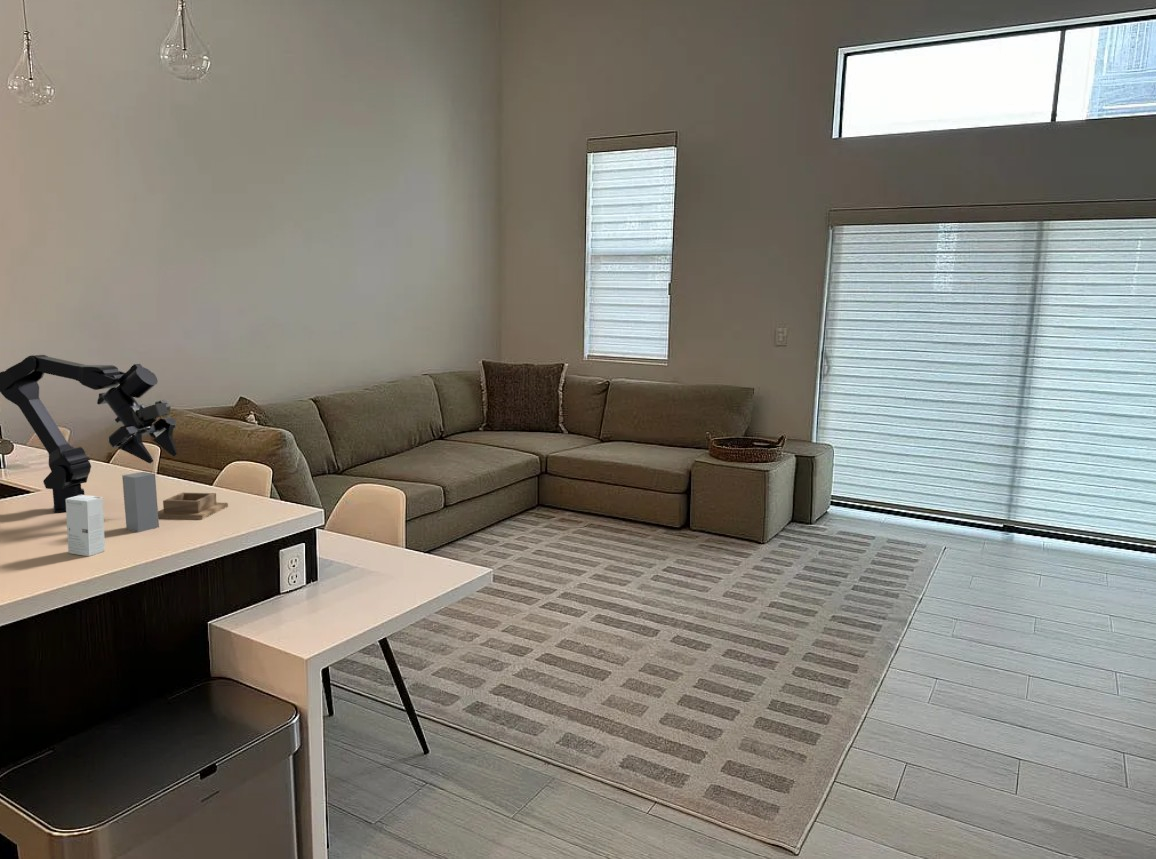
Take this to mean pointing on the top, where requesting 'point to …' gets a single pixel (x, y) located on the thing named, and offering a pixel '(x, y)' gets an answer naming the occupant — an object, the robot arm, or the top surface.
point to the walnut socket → (190, 506)
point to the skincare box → (85, 525)
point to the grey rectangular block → (140, 501)
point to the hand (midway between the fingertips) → (164, 458)
